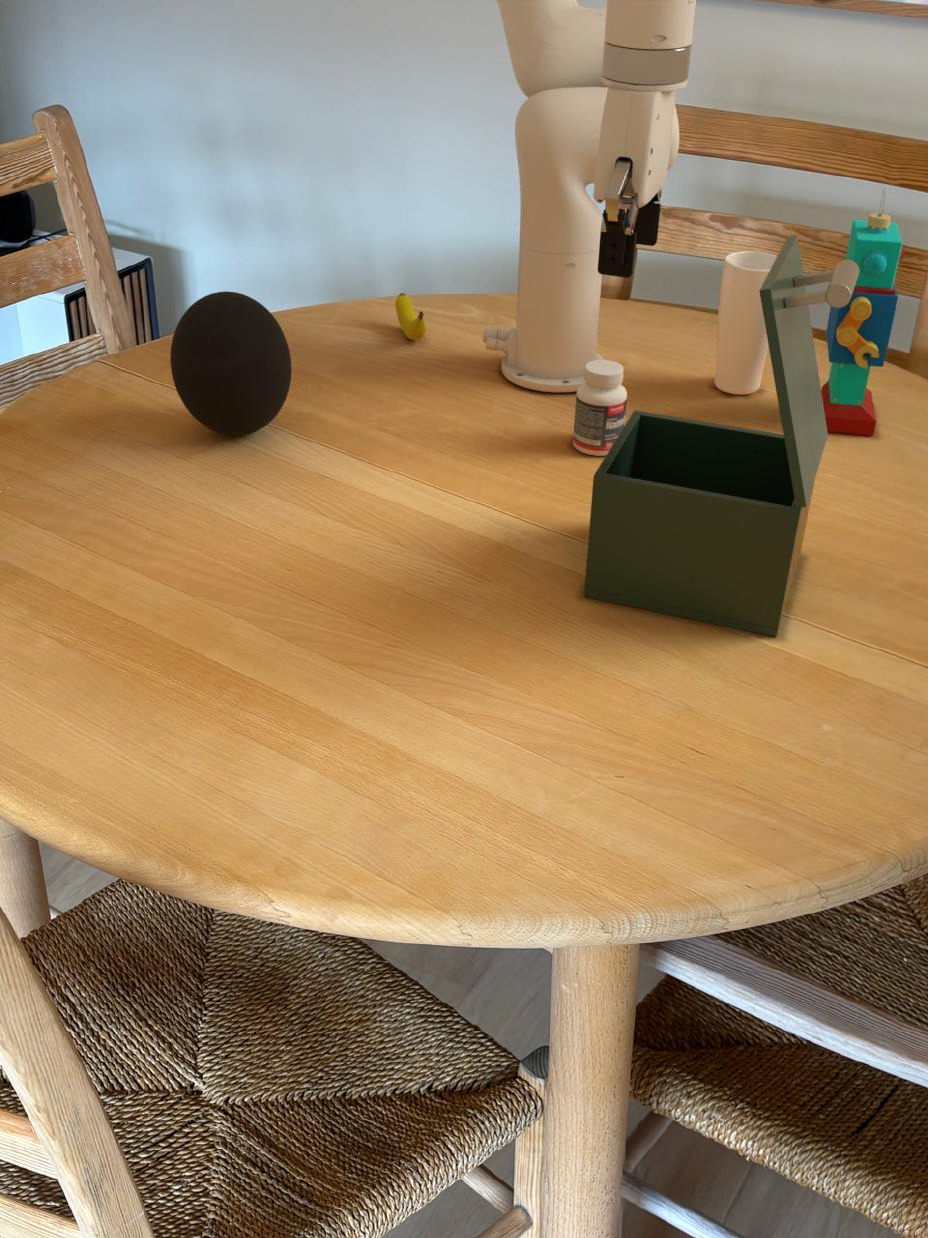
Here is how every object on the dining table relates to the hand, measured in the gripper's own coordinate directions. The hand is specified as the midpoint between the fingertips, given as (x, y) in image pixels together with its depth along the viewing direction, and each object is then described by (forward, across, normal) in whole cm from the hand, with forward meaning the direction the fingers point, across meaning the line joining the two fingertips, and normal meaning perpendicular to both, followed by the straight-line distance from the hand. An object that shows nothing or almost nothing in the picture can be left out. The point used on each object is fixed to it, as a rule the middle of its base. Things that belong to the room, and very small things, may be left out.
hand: (627, 258), depth 118 cm
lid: (0, +20, +18) cm, 27 cm away
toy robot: (+21, -19, +22) cm, 36 cm away
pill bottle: (+21, -2, -2) cm, 21 cm away
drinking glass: (+21, -23, +9) cm, 32 cm away
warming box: (+21, +20, +13) cm, 32 cm away
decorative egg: (+21, +9, -39) cm, 45 cm away
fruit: (+21, -23, -32) cm, 45 cm away
